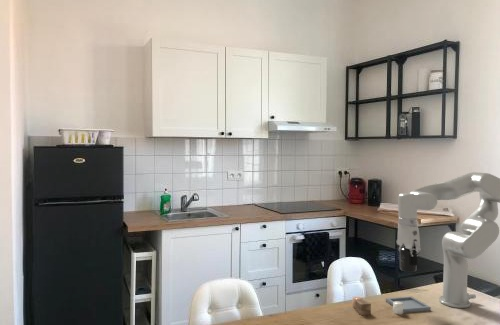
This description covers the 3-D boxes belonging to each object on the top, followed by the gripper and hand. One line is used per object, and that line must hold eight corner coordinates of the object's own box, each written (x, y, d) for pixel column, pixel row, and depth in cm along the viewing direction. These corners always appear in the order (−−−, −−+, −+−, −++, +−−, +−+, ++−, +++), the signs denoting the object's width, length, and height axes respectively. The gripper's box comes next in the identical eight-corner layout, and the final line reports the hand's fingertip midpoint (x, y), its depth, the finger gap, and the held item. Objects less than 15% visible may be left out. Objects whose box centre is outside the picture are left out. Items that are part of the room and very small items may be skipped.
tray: (411, 299, 183) (411, 296, 183) (430, 310, 171) (430, 307, 171) (385, 301, 180) (385, 298, 180) (403, 312, 168) (403, 309, 168)
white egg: (399, 310, 170) (399, 301, 170) (405, 314, 166) (405, 304, 166) (390, 311, 169) (391, 301, 169) (396, 314, 166) (396, 305, 166)
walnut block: (365, 310, 170) (365, 299, 170) (370, 314, 166) (370, 303, 166) (355, 311, 169) (355, 300, 169) (360, 315, 165) (360, 304, 165)
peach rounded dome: (359, 305, 175) (359, 296, 175) (364, 309, 171) (364, 299, 171) (351, 306, 174) (351, 297, 174) (355, 309, 170) (355, 300, 170)
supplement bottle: (418, 272, 171) (417, 244, 171) (401, 271, 173) (400, 243, 172) (415, 267, 178) (414, 240, 178) (398, 267, 179) (398, 240, 179)
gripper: (428, 224, 167) (428, 267, 168) (403, 218, 184) (403, 257, 184) (412, 226, 165) (413, 269, 166) (388, 219, 182) (389, 258, 183)
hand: (408, 262), depth 175 cm, fingers closed on supplement bottle, 6 cm apart
